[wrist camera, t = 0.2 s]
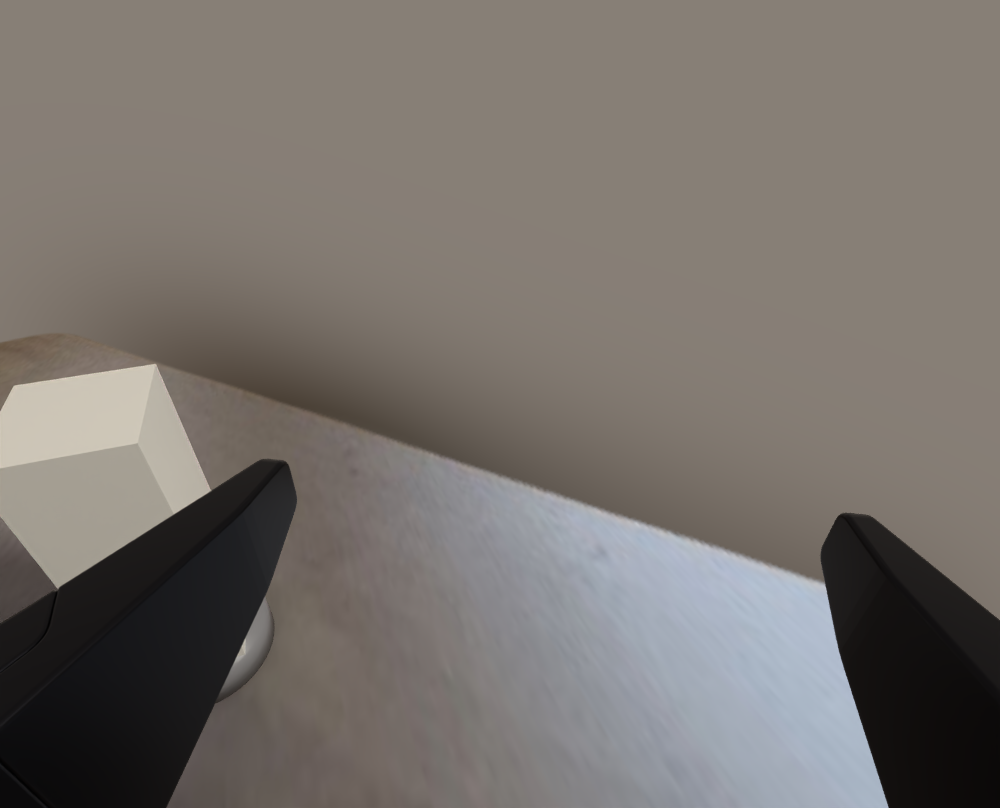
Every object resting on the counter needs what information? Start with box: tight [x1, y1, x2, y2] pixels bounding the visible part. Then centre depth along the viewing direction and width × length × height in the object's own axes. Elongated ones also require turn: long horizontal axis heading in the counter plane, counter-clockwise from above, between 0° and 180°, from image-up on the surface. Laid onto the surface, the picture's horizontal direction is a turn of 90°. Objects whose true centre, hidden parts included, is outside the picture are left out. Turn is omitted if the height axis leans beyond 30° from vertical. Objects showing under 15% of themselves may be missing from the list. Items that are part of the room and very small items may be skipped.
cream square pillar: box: [0, 364, 274, 703], centre depth 21 cm, size 6×6×13 cm
